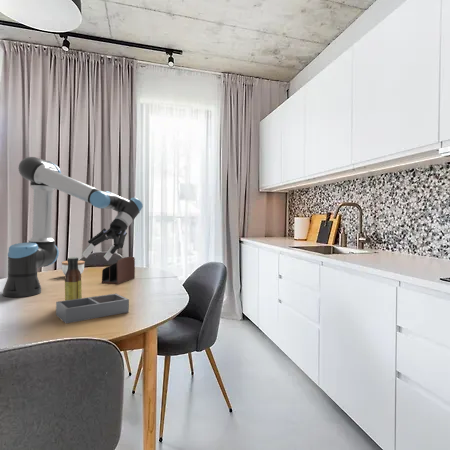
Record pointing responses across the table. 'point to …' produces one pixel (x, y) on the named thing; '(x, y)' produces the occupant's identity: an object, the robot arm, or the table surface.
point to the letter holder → (119, 271)
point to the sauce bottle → (73, 280)
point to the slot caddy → (91, 307)
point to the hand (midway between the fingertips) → (94, 257)
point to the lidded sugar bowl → (65, 266)
